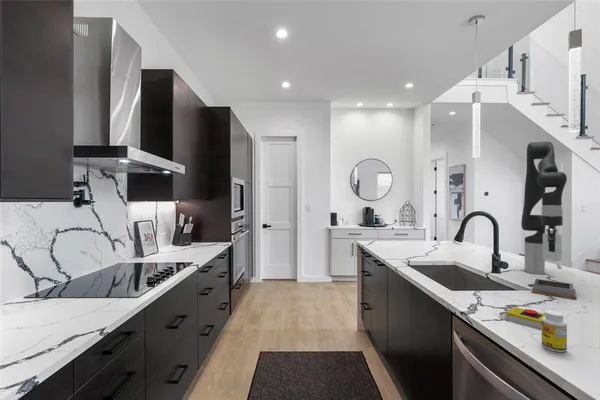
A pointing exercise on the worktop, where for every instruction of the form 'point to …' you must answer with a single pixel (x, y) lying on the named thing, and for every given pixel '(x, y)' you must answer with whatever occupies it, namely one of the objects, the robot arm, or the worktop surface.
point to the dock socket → (554, 289)
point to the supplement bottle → (554, 331)
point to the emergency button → (524, 317)
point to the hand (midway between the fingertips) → (552, 250)
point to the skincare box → (558, 249)
